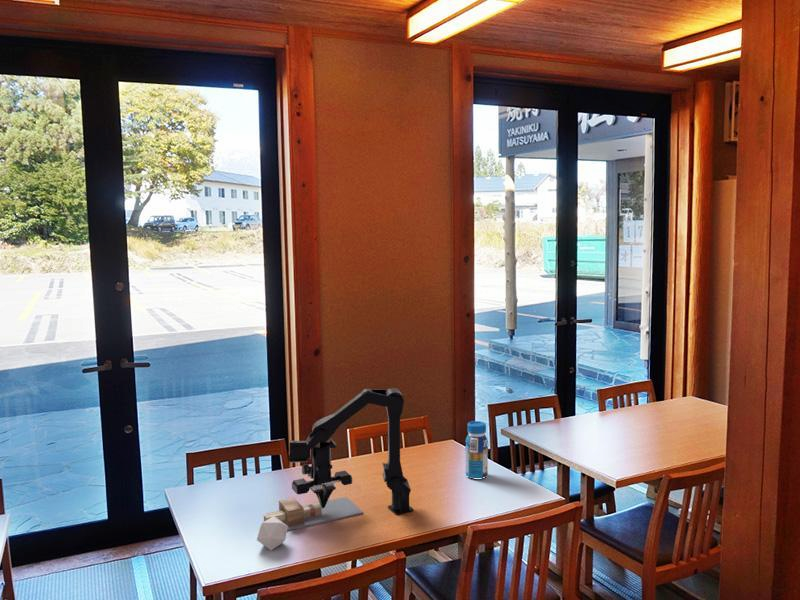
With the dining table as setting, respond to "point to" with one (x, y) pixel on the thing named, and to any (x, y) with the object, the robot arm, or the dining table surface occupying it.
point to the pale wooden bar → (308, 512)
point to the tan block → (292, 511)
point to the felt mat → (331, 512)
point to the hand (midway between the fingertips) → (322, 507)
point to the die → (272, 533)
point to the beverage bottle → (476, 450)
